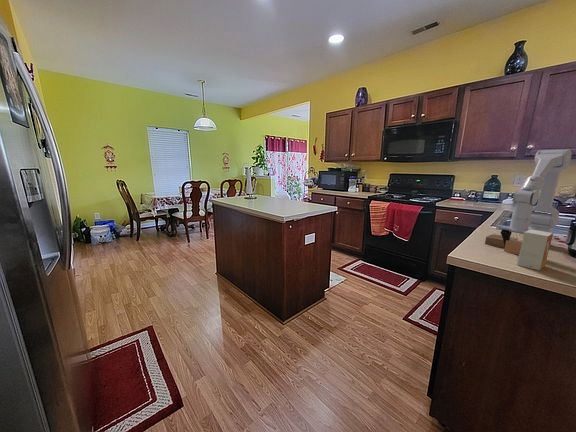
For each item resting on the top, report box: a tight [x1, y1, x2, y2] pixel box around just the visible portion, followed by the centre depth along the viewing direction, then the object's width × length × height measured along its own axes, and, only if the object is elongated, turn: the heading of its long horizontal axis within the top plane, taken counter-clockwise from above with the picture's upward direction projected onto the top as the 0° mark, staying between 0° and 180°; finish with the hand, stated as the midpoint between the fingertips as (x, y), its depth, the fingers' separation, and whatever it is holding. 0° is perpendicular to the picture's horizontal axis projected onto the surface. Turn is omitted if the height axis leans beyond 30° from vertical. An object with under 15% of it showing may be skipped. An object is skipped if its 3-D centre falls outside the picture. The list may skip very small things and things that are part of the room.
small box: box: [516, 229, 554, 271], centre depth 88 cm, size 8×6×13 cm
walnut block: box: [484, 233, 519, 249], centre depth 112 cm, size 9×9×4 cm
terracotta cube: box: [503, 239, 522, 256], centre depth 103 cm, size 5×5×5 cm
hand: (514, 249), depth 103 cm, fingers closed on terracotta cube, 5 cm apart
